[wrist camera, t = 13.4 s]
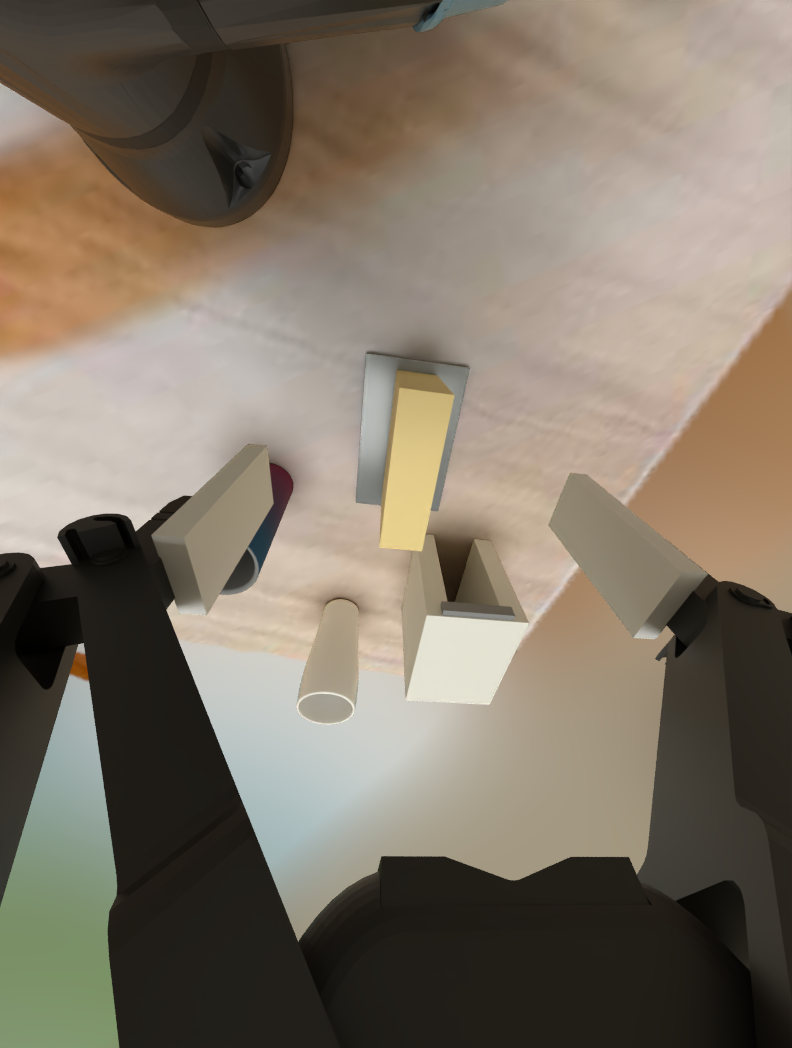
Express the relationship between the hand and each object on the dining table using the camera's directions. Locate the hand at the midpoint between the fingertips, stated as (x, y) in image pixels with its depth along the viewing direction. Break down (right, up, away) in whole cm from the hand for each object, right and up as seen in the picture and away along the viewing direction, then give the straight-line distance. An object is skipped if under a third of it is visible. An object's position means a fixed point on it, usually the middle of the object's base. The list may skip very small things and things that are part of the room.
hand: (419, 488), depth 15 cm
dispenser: (+6, -9, +32) cm, 34 cm away
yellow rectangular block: (0, +7, +21) cm, 22 cm away
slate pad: (0, +8, +22) cm, 23 cm away
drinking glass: (-9, -14, +35) cm, 39 cm away
